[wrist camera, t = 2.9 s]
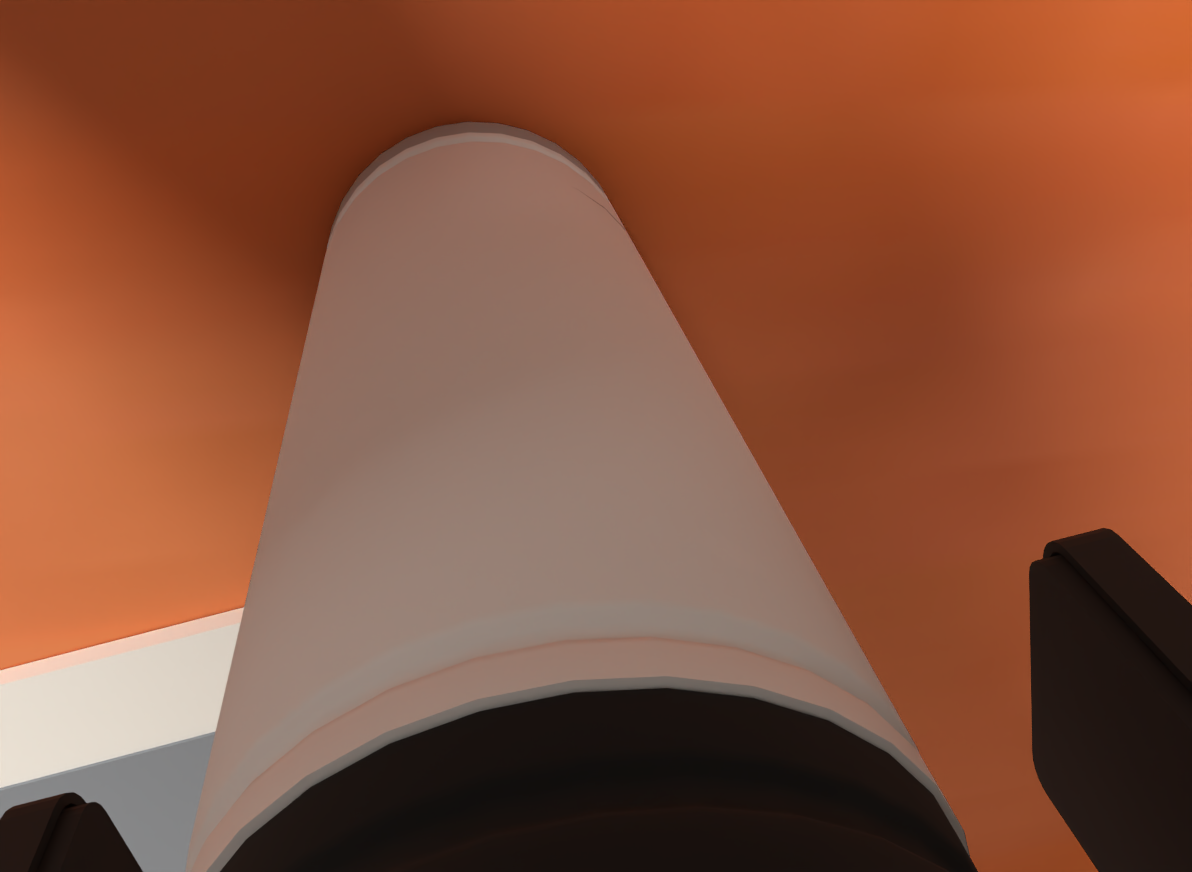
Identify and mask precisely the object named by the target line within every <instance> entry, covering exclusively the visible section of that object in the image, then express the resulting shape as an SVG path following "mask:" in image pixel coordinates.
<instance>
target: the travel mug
mask: <svg viewBox="0 0 1192 872" xmlns="http://www.w3.org/2000/svg"><path fill="white" fill-rule="evenodd" d="M186 872H978V871H977V869H976V867H975V866H974V864H973V862H972V860H971V858H970V855H969V850H968V846H967V842H966V837H965V833H964V830H963V829H962V827H961V825H960V823H959V821H958V820H957V818H956V816H955V814H954V813H953V811H952V809H951V807H950V805H949V804H948V802H947V800H946V798H945V797H944V795H943V793H942V791H941V790H940V788H939V786H938V785H937V783H936V781H935V780H934V778H933V776H932V775H931V773H930V771H929V769H928V768H927V766H926V764H925V763H924V761H923V759H922V758H921V756H920V754H919V751H918V749H917V747H916V745H915V743H914V741H913V740H912V738H911V736H910V734H909V733H908V731H907V729H906V727H905V725H904V724H903V722H902V720H901V718H900V717H899V715H898V713H897V711H896V709H895V708H894V706H893V704H892V702H891V701H890V699H889V697H888V695H887V693H886V692H885V690H884V688H883V686H882V685H881V683H880V681H879V679H878V677H877V676H876V674H875V672H874V670H873V669H872V667H871V665H870V663H869V661H868V660H867V658H866V656H865V654H864V653H863V651H862V649H861V647H860V645H859V644H858V642H857V640H856V638H855V637H854V635H853V633H852V631H851V629H850V628H849V626H848V624H847V622H846V621H845V619H844V617H843V615H842V613H841V612H840V610H839V608H838V606H837V605H836V603H835V601H834V599H833V597H832V596H831V594H830V592H829V590H828V589H827V587H826V585H825V583H824V581H823V580H822V578H821V576H820V574H819V572H818V571H817V569H816V567H815V565H814V564H813V562H812V560H811V558H810V556H809V555H808V553H807V551H806V549H805V548H804V546H803V544H802V542H801V540H800V539H799V537H798V535H797V533H796V532H795V530H794V528H793V526H792V524H791V523H790V521H789V519H788V517H787V516H786V514H785V512H784V510H783V508H782V507H781V505H780V503H779V501H778V500H777V498H776V496H775V494H774V492H773V491H772V489H771V487H770V485H769V484H768V482H767V480H766V478H765V476H764V475H763V473H762V471H761V469H760V468H759V466H758V464H757V462H756V460H755V459H754V457H753V455H752V453H751V452H750V450H749V448H748V446H747V444H746V443H745V441H744V439H743V437H742V436H741V434H740V432H739V430H738V428H737V427H736V425H735V423H734V421H733V420H732V418H731V416H730V414H729V412H728V411H727V409H726V407H725V405H724V404H723V402H722V400H721V398H720V396H719V395H718V393H717V391H716V389H715V388H714V386H713V384H712V382H711V380H710V379H709V377H708V375H707V373H706V372H705V370H704V368H703V366H702V364H701V363H700V361H699V359H698V357H697V356H696V354H695V352H694V350H693V348H692V347H691V345H690V343H689V341H688V340H687V338H686V336H685V334H684V332H683V331H682V329H681V327H680V325H679V324H678V322H677V320H676V318H675V316H674V315H673V313H672V311H671V309H670V308H669V306H668V304H667V302H666V300H665V299H664V297H663V295H662V293H661V292H660V290H659V288H658V286H657V284H656V283H655V281H654V279H653V277H652V276H651V274H650V272H649V270H648V268H647V267H646V265H645V263H644V261H643V260H642V258H641V256H640V254H639V252H638V251H637V249H636V247H635V245H634V244H633V242H632V240H631V238H630V236H629V235H628V233H627V231H626V229H625V228H624V226H623V224H622V222H621V220H620V219H619V217H618V215H617V213H616V212H615V210H614V208H613V206H612V204H611V203H610V201H609V199H608V198H607V196H606V194H605V192H604V191H603V189H602V187H601V186H600V184H599V182H598V181H597V180H596V179H595V178H594V177H593V176H592V175H591V173H590V172H589V171H588V170H587V169H586V168H585V167H584V166H583V165H582V163H581V162H580V161H579V160H577V159H576V158H575V157H573V156H572V155H571V154H569V153H568V152H567V151H565V150H564V149H562V148H561V147H560V146H558V145H557V144H556V143H554V142H552V141H550V140H547V139H545V138H543V137H541V136H539V135H537V134H535V133H532V132H530V131H528V130H524V129H520V128H516V127H512V126H508V125H504V124H500V123H485V122H462V123H456V124H450V125H443V126H437V127H434V128H431V129H428V130H426V131H423V132H420V133H418V134H415V135H413V136H410V137H407V138H405V139H404V140H402V141H401V142H399V143H398V144H396V145H394V146H393V147H391V148H390V149H388V150H386V151H385V152H383V153H382V154H380V155H379V156H378V157H377V158H376V159H375V160H374V161H373V162H372V163H371V164H370V165H369V166H368V167H367V168H366V169H365V170H364V171H363V172H362V173H361V174H360V175H359V176H358V177H357V179H356V180H355V182H354V183H353V185H352V186H351V188H350V189H349V191H348V192H347V194H346V195H345V197H344V198H343V200H342V202H341V205H340V207H339V210H338V212H337V215H336V217H335V220H334V223H333V225H332V228H331V232H330V236H329V241H328V245H327V251H326V254H325V258H324V263H323V267H322V271H321V276H320V280H319V284H318V289H317V293H316V297H315V302H314V306H313V310H312V315H311V319H310V323H309V328H308V332H307V336H306V341H305V345H304V349H303V354H302V358H301V362H300V367H299V371H298V376H297V380H296V384H295V389H294V393H293V397H292V402H291V406H290V410H289V415H288V419H287V423H286V428H285V432H284V436H283V441H282V445H281V449H280V454H279V458H278V462H277V467H276V471H275V475H274V480H273V484H272V489H271V493H270V497H269V502H268V506H267V510H266V515H265V519H264V523H263V528H262V532H261V536H260V541H259V545H258V549H257V554H256V558H255V562H254V567H253V571H252V575H251V580H250V584H249V588H248V593H247V597H246V602H245V606H244V610H243V615H242V619H241V623H240V628H239V632H238V636H237V641H236V645H235V649H234V654H233V658H232V662H231V667H230V671H229V675H228V680H227V684H226V688H225V693H224V697H223V702H222V706H221V710H220V715H219V719H218V723H217V728H216V732H215V736H214V741H213V745H212V749H211V754H210V758H209V762H208V767H207V771H206V775H205V780H204V784H203V788H202V793H201V797H200V801H199V806H198V810H197V815H196V819H195V823H194V828H193V832H192V836H191V841H190V845H189V850H188V857H187V864H186Z"/></svg>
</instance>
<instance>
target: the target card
mask: <svg viewBox="0 0 1192 872" xmlns="http://www.w3.org/2000/svg"><path fill="white" fill-rule="evenodd" d="M243 610H244V607H243V608H239V609H235V610H231V611H228V612H224V613H220V614H216V615H212V616H208V617H204V618H201V619H197V620H193V621H189V622H185V623H181V624H177V625H174V626H170V627H166V628H162V629H158V630H154V631H150V632H147V633H143V634H139V635H135V636H131V637H127V638H123V639H119V640H116V641H112V642H108V643H104V644H100V645H96V646H92V647H89V648H85V649H81V650H77V651H73V652H69V653H65V654H62V655H58V656H54V657H50V658H46V659H42V660H38V661H35V662H31V663H27V664H23V665H19V666H15V667H11V668H7V669H4V670H0V819H1V817H2V816H3V814H4V813H5V811H7V810H8V809H10V808H11V807H13V806H16V805H20V804H24V803H28V802H32V801H36V800H40V799H44V798H48V797H52V796H56V795H59V794H63V793H70V792H74V793H76V794H78V795H80V796H81V797H82V798H83V799H84V800H85V802H86V803H90V802H97V803H99V804H101V805H102V807H103V808H104V809H105V810H106V812H107V814H108V815H109V817H110V818H111V820H112V822H113V823H114V825H115V827H116V828H117V830H118V831H119V833H120V835H121V836H122V838H123V840H124V841H125V843H126V845H127V846H128V848H129V849H130V851H131V853H132V854H133V856H134V858H135V859H136V861H137V863H138V864H139V866H140V867H141V869H142V871H143V872H186V864H187V857H188V850H189V845H190V841H191V836H192V832H193V828H194V823H195V819H196V815H197V810H198V806H199V801H200V797H201V793H202V788H203V784H204V780H205V775H206V771H207V767H208V762H209V758H210V754H211V749H212V745H213V741H214V736H215V732H216V728H217V723H218V719H219V715H220V710H221V706H222V702H223V697H224V693H225V688H226V684H227V680H228V675H229V671H230V667H231V662H232V658H233V654H234V649H235V645H236V641H237V636H238V632H239V628H240V623H241V619H242V615H243Z"/></svg>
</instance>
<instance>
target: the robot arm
mask: <svg viewBox="0 0 1192 872" xmlns="http://www.w3.org/2000/svg"><path fill="white" fill-rule="evenodd" d="M1029 590H1030V645H1031V700H1032V753H1033V761H1034V765H1035V769H1036V772H1037V775H1038V778H1039V780H1040V782H1041V784H1042V787H1043V788H1044V790H1045V792H1046V794H1047V795H1048V797H1049V798H1050V800H1051V801H1052V803H1053V804H1054V806H1055V807H1056V809H1057V810H1058V812H1059V813H1060V815H1061V816H1062V818H1063V819H1064V821H1065V822H1066V824H1067V825H1068V827H1069V828H1070V829H1071V831H1072V832H1073V834H1074V835H1075V837H1076V838H1077V840H1078V841H1079V843H1080V844H1081V846H1082V847H1083V849H1084V850H1085V852H1086V853H1087V855H1088V856H1089V858H1090V859H1091V861H1092V862H1093V864H1094V865H1095V867H1096V868H1097V870H1098V871H1099V872H1192V605H1191V604H1190V603H1189V602H1188V601H1187V600H1186V599H1185V598H1184V597H1183V596H1182V595H1180V594H1179V593H1178V592H1177V591H1176V590H1175V589H1174V588H1173V587H1172V586H1171V585H1170V584H1169V583H1168V582H1167V581H1166V580H1165V579H1164V578H1163V577H1162V576H1161V575H1160V574H1158V573H1157V572H1156V571H1155V570H1154V569H1153V568H1152V567H1151V566H1150V565H1149V564H1148V563H1147V562H1146V561H1145V560H1144V559H1143V558H1142V557H1141V556H1140V555H1139V554H1138V553H1136V552H1135V551H1134V550H1133V549H1132V548H1131V547H1130V546H1129V545H1128V544H1127V543H1126V542H1125V541H1124V540H1123V539H1122V538H1121V537H1120V536H1119V535H1117V534H1116V533H1115V532H1113V531H1112V530H1111V529H1106V528H1102V529H1098V530H1094V531H1090V532H1086V533H1082V534H1078V535H1074V536H1071V537H1067V538H1063V539H1059V540H1055V541H1051V542H1049V543H1048V544H1047V545H1046V547H1045V549H1044V554H1043V559H1041V560H1037V561H1034V562H1032V564H1031V566H1030V571H1029ZM0 872H143V871H142V869H141V867H140V866H139V864H138V863H137V861H136V859H135V858H134V856H133V854H132V853H131V851H130V849H129V848H128V846H127V845H126V843H125V841H124V840H123V838H122V836H121V835H120V833H119V831H118V830H117V828H116V827H115V825H114V823H113V822H112V820H111V818H110V817H109V815H108V814H107V812H106V810H105V809H104V808H103V807H102V805H101V804H99V803H97V802H90V803H86V802H85V800H84V799H83V798H82V797H81V796H80V795H78V794H76V793H74V792H70V793H63V794H59V795H56V796H52V797H48V798H44V799H40V800H36V801H32V802H28V803H24V804H20V805H16V806H13V807H11V808H10V809H8V810H7V811H5V813H4V814H3V816H2V817H1V819H0Z"/></svg>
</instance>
